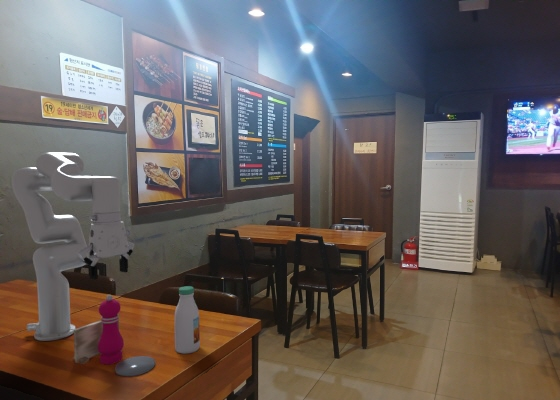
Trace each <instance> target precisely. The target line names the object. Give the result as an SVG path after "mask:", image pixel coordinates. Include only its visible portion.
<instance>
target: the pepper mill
mask: <svg viewBox="0 0 560 400" xmlns="http://www.w3.org/2000/svg"><path fill="white" fill-rule="evenodd" d="M113 298H114V297H113V295H111V294H107V296H106V300H103V301H102V302H101V303H100V305H99V307H98V313H99V315H100V316H101V317H100V319H101V320H100V321H101V322H102V323H103V331H102V335H101V337H100V340H99V343H98V351H99V352H100V353H101V354H99V362H100V364H103V365H113V364H116V363H119V362H121V361H122V359H123V351H122V350H123V348H124V345H125V343H124V338H123V336H122V334H121V332H120V328H119V329H118V320H119V321H120V317H119V316H120V315H119V312H120V311H121V309H122V307H121V304H120V302H119V301H118V300H116V299H113Z"/></svg>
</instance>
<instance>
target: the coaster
mask: <svg viewBox="0 0 560 400" xmlns="http://www.w3.org/2000/svg"><path fill="white" fill-rule="evenodd" d="M155 367H156V360H155V358H153V357H151V356H146V355H145V356H144V355H139V356H138V355H137V356H132V357H128V358H126V359H123V360H120V361H119V362H117V364H116V365H115V368H114V372H115V373H116V374H117V375H118V376H121V377H136V376H140V375H144V374H146V373H149V372H151V370H153V368H155Z"/></svg>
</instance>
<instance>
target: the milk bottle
mask: <svg viewBox="0 0 560 400" xmlns="http://www.w3.org/2000/svg"><path fill="white" fill-rule="evenodd" d="M194 292H195V288H194V287H193V286H191V285H188V286H181V287H179V288H178V293H179V294H178V295H179V300H178V303H177V305H176V308H175V310H174V350H175V351H176V353H179V354H183V355H184V354H185V355H186V354H192V353H195V352H197V351H198V350H199V349H200V346H201V345H200V344H201V342H200V341H201V339H200V337H201V336H200V335H201V334H200V313H199V308H198V305H197V304H196V300H195V299H194V294H195V293H194Z"/></svg>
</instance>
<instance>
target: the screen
mask: <svg viewBox="0 0 560 400" xmlns="http://www.w3.org/2000/svg"><path fill="white" fill-rule="evenodd" d="M118 329H119V330H120V319H119V320H118ZM102 331H103V323H102V322H101V320H98V321H95V322H92V323H89V324H86V325H83V326H79V327H76V329H74V333H73V343H74V344H73V345H74V355H73V357H72V360H73V361H74V362H75V363H77V364H79V363H80V364H82V365H83V364H86V363H89V362H90V361H89V360H90V359H91V358H93V357H95V356H98V355H101V353H100V352H99V351H98V343H99V340H100V337H101V335H102Z"/></svg>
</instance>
